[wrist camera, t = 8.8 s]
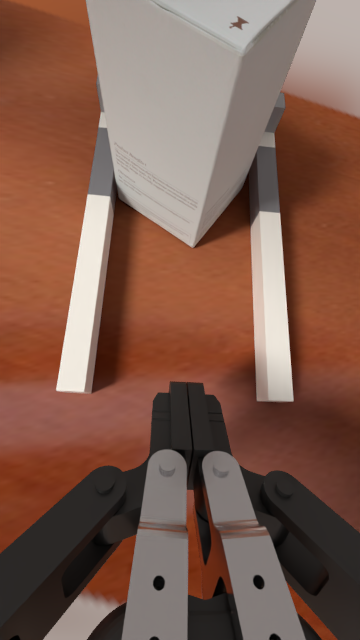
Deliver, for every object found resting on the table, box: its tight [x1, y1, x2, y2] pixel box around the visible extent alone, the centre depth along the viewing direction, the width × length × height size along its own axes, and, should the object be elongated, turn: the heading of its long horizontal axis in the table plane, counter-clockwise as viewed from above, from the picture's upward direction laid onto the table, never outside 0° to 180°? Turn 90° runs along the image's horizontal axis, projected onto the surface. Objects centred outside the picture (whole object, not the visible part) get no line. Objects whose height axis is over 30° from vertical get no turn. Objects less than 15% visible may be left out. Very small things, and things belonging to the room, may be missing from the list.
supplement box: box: [86, 0, 316, 247], centre depth 17 cm, size 7×7×13 cm
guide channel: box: [56, 76, 294, 402], centre depth 19 cm, size 14×22×6 cm, turn 178°
